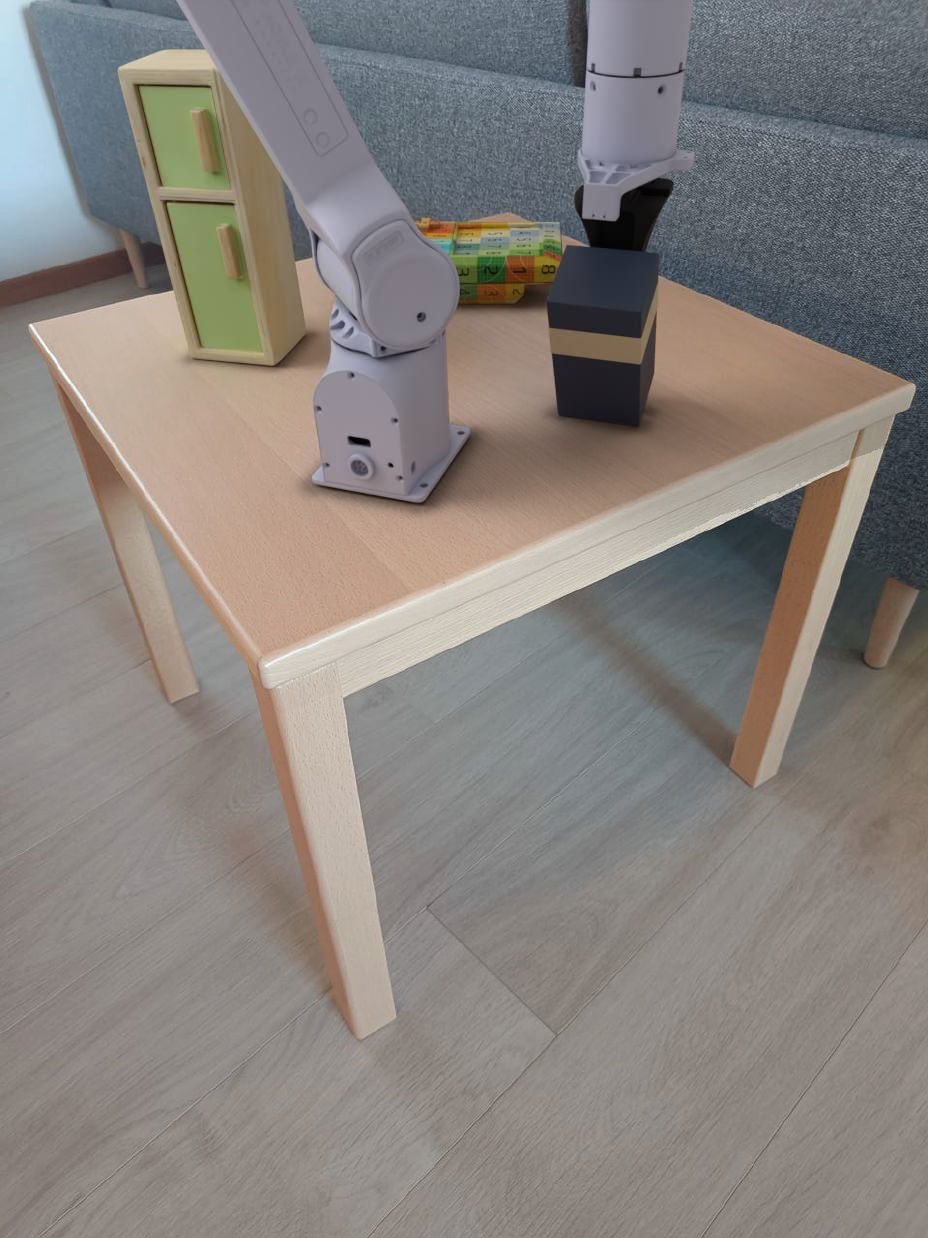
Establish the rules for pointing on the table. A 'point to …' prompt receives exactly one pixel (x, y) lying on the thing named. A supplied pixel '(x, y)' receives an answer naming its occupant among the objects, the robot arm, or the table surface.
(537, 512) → the table surface
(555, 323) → the carton
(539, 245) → the puzzle game
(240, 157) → the toy refrigerator
